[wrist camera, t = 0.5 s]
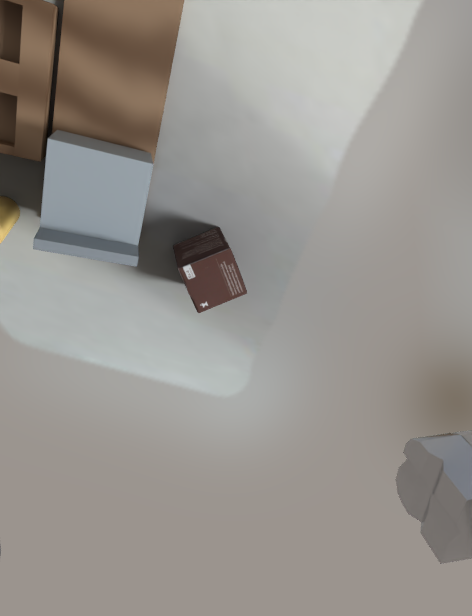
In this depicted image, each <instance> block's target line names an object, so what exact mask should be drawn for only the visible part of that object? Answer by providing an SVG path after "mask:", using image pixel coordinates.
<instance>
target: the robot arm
mask: <svg viewBox="0 0 472 616" xmlns="http://www.w3.org/2000/svg"><path fill="white" fill-rule="evenodd" d="M403 453H404V454H405V456H406V458H407V460H406V461H405V462H404V463H403V464H402V465H401V466H400V467H399V469H398V473H397V477H396V484H397V491H398V495H399V497H400V500H401V502H402V504H403V506H404V507H405V509H406V511H407V512H408V514H410V515H411V516H413V517H414V518H416V519H417V520H419V521H420V522H421V534H422V536H423V537H424V539H425V540H426V542H427V543H428V545H429V547H430V548H431V550H432V551H433V553H434V554H435V556H436V557H437V559H438V560H439V562H440V564H442V563H447V562H454V561H459V560H465V559H471V558H472V430H469V431H462V432H455V433H446V434H440V435H433V436H426V437H419V438H413V439H410V440H409V441H408V442H407V443H406V445H405V449H404V452H403ZM0 554H1V546H0Z"/></svg>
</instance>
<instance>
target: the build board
mask: <svg viewBox="0 0 472 616" xmlns="http://www.w3.org/2000/svg"><path fill="white" fill-rule="evenodd" d="M58 9H59V8H58V7H57V6H55V5H54V4H52V3H49V2H46V1H43V0H0V153H4V154H8V155H13V156H17V157H21V158H26V159H30V160H35V161H39V162H41V161H42V160H43V159H44V157H45V156H46V146H47V135H48V123H49V112H50V100H51V89H52V78H53V66H54V55H55V43H56V32H57V20H58Z"/></svg>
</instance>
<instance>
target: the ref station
mask: <svg viewBox="0 0 472 616" xmlns="http://www.w3.org/2000/svg"><path fill="white" fill-rule="evenodd" d="M183 4H184V0H64V8H63V19H62V30H61V41H60V52H59V63H58V74H57V85H56V96H55V106H54V117H53V128H52V134H53V133H54V132H55V131H56V130H61V131H65V132H69V133H73V134H77V135H81V136H85V137H89V138H93V139H97V140H101V141H105V142H109V143H113V144H117V145H121V146H125V147H129V148H133V149H137V150H141V151H145V152H149V153H151V156H152V160H153V163H154V158H155V152H156V147H157V142H158V137H159V131H160V126H161V121H162V115H163V110H164V105H165V99H166V94H167V89H168V84H169V78H170V73H171V68H172V62H173V57H174V52H175V46H176V41H177V36H178V31H179V25H180V20H181V15H182V9H183Z"/></svg>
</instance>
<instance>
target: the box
mask: <svg viewBox="0 0 472 616" xmlns="http://www.w3.org/2000/svg"><path fill="white" fill-rule="evenodd" d="M173 248H174V252H175V257H176V262H177V266H178V271H179V273H180V275H181V277H182V279H183V282H184V284H185V286H186V288H187V291H188V293H189V295H190V297H191V299H192V301H193V303H194V306H195V308H196V310H197V312H198V313H201V312H203V311H206V310H208V309H210V308H213V307H215V306H218V305H220V304H222V303H225V302H227V301H230V300H232V299H235V298H237V297H240V296H242V295H244V294H247V290H246V288H245V285H244V282H243V279H242V276H241V274H240V271H239V269H238V266H237V263H236V261H235V258H234V255H233V253H232V251H231V249H230V247H229V245H228V243H227V241H226V239H225V237H224V235H223V233H222V232H221V230H220V228H219V227H216V228H214V229H211V230H209V231H207V232H204V233H202V234H200V235H197V236H195V237H192V238H190V239H187V240H185V241H182V242H180V243H177V244H175V245H173Z"/></svg>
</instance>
